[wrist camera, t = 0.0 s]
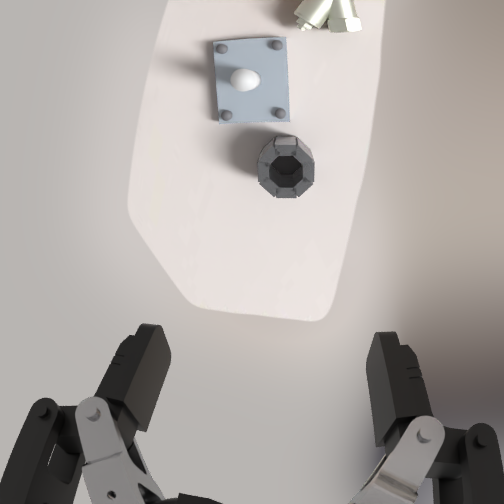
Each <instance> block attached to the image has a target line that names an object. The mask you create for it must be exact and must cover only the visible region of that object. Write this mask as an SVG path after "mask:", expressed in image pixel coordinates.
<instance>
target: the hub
mask: <svg viewBox="0 0 504 504" xmlns="http://www.w3.org/2000/svg"><path fill="white" fill-rule="evenodd" d="M278 156H294V157H295V158H296V159H297V160H298V161H299V162H300V163H301V167H300V168H299V169H298V170H297V171H295V172H294V173H293V174H280V173H279V172H278V171H277V170H276V169H275V168H273V167H272V162H273V161H274V160H275V159H276V158H277V157H278ZM257 166H258V182H260V185H261V186H262V187H263V188H265V189H266V190H267V191H268V192H269V193H270V194H271V195H272V196H273V197H275V196H276V198H296V195H297V196H298V197H300V196H301V195H302V194H303V193H304V192H305V191H306V190H307V189H308V188H309V187H310V186H312V185H313V182H314V159H313V156H312V153H311V150H310V149H309V148H308V147H307V146H306V145H305V144H304V143H303V142H302V141H301V140H300V139H299V138H298V137H297V138H296V139H295V136H276V138H275V137H274V138H273V139H272V140H271V141H270V142H269V143H268V144H267V145H266V146H265V147H264V148H263V149H262V151H261V154H260V157H259V159H258V162H257Z"/></svg>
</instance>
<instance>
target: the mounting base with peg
mask: <svg viewBox="0 0 504 504" xmlns="http://www.w3.org/2000/svg"><path fill="white" fill-rule="evenodd" d="M213 49H214V63H215V76H216V89H217V102H218V114H219V124H229V123H248V122H290V115H289V87H288V65H287V46H286V37H272V38H251V39H238V40H227V41H218V42H213Z"/></svg>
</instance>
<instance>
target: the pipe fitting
mask: <svg viewBox="0 0 504 504" xmlns="http://www.w3.org/2000/svg"><path fill="white" fill-rule="evenodd" d="M294 14H295V15H297V16H298V17H299V18H298V20H297V21H296V22H297V23H299V25H298V26H297V27H298V28H299V29H301V30H303V31H304V30H305V29H306V28H307V29H309V30H310V29H311V28H312V27H313V26H315V27H317V28H319V29H320V28H321V26H322V25H323V24H324V22H325V21H327V25H328V29H329V31H330V32H332V33H339V32H352V31H359V30H361V24H360V19H359V17H357V14H356V9H355V5H354V1H353V0H303V1H302V2H301V3H300V5H299V6H298V7H297V9H296V10H295V12H294Z"/></svg>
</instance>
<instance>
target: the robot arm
mask: <svg viewBox="0 0 504 504" xmlns="http://www.w3.org/2000/svg"><path fill="white" fill-rule="evenodd" d="M170 362H171V351H170V348H169V345H168V342H167V339H166V337H165V334H164V331H163V328H162V326H160V325H153V324H141V325H140V326H139V328H138V330H137V332H136V334H135V336H134V335H129V336H128V337H127V338H126V339H125V340H124V341H123V342H122V343H121V344H120V346H119V348H118V349H117V351H116V353H115V356H114V357H113V359H112V361H111V364H110V365H109V367H108V369H107V371H106V373H105V375H104V377H103V379H102V381H101V384H100V385H99V387H98V390H97V392H96V393H95V395H94V396H93V397H90V398H87V399H85V400H83V401H82V402H81V403H80V404H79V405H78V406H58V405H57V404H56V403H55V401H54V400H52V399H50V398H42V399H39V400H38V401H36V402H35V403H34V404H33V406H32V407H31V409H30V411H29V414H28V416H27V418H26V420H25V422H24V425H23V427H22V429H21V431H20V434H19V436H18V438H17V441H16V443H15V445H14V448H13V450H12V453H11V455H10V458H9V460H8V463H7V466H6V468H5V471H4V474H3V477H2V479H1V482H0V504H73V501H74V497H75V494H76V491H77V487H78V484H79V480H80V477H81V474H82V473H83V477H84V480H85V483H86V486H87V490H88V493H89V496H90V499H91V502H92V504H222V503H219V502H217V501H214V500H212V499H209V498H203V497H198V496H192V495H187V494H182V493H179V496H178V498H170V499H165V498H164V496H163V494H162V492H161V490H160V488H159V487H158V485H157V484H156V483H155V481H154V480H153V478H152V476H151V475H150V473H149V470H148V468H147V466H146V463H145V461H144V459H143V457H142V454H141V452H140V449H139V447H138V444H137V442H136V439H135V438H134V436H135V433H136V431H137V430H139V431H144V432H146V431H147V429H148V426H149V422H150V420H151V417H152V414H153V411H154V408H155V405H156V402H157V400H158V397H159V394H160V391H161V388H162V386H163V382H164V380H165V377H166V374H167V371H168V369H169V366H170ZM366 373H367V380H368V387H369V394H370V401H371V408H372V416H373V424H374V434H375V443H376V447H381V446H385V453H386V454H385V456H384V457H383V458H382V460H381V461H380V463H379V464H378V466H377V467H376V469H375V470H374V471H373V473H372V474H371V476H370V477H369V478H368V480H367V481H366V482H365V484H364V485H363V486H362V488H361V489H360V490H359V492H358V493H357V494H356V495H355V496H354V497H353V498H352V500H351V501H350V502H349V503H348V504H414V502H415V501H416V499H417V496H418V494H417V490H418V488H419V487H420V485H421V483H422V481H423V479H424V478H432V481H433V498H434V504H504V472H503V465H502V460H501V454H500V449H499V444H498V440H497V435H496V433H495V431H494V429H493V428H492V427H491V426H489V425H487V424H484V423H478V424H475V425H473V426H472V427H471V428H470V429H469V430H461V429H454V428H448V427H445V426H443V425H442V424H441V423H440V421H438V420H437V419H436V418H434V416H433V414H432V411H431V407H430V403H429V399H428V395H427V391H426V388H425V384H424V380H423V378H422V373H421V370H420V369H419V364H418V360H417V356H416V354H415V353H414V352H413V351H412V349H411V348H410V347H409V346H408V345H400V343H399V339H398V336H397V334H396V332H376V333H375V335H374V338H373V341H372V344H371V347H370V351H369V354H368V357H367V362H366ZM55 444H56V445H55ZM54 446H55V448H54ZM53 449H54V451H53ZM52 451H53V453H52ZM51 453H52V456H51ZM50 456H51V459H50ZM49 459H50V461H49ZM85 461H86V464H85ZM48 462H49V464H48Z"/></svg>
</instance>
